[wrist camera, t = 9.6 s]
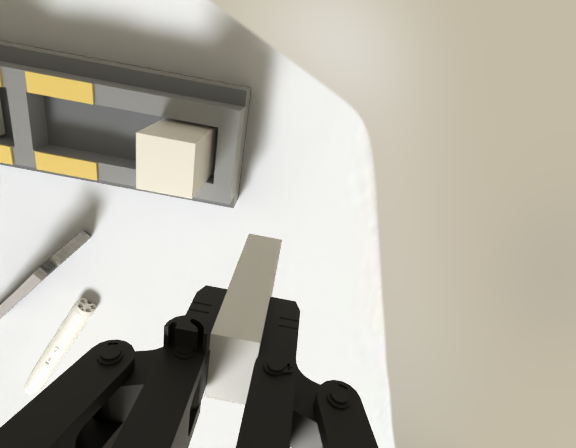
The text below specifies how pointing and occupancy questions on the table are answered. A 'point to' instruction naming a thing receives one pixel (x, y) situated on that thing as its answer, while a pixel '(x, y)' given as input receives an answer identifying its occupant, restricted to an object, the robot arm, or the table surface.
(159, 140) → the tab
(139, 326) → the table surface
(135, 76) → the switch board
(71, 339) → the marker
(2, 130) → the tab
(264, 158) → the table surface
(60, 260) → the caliper
